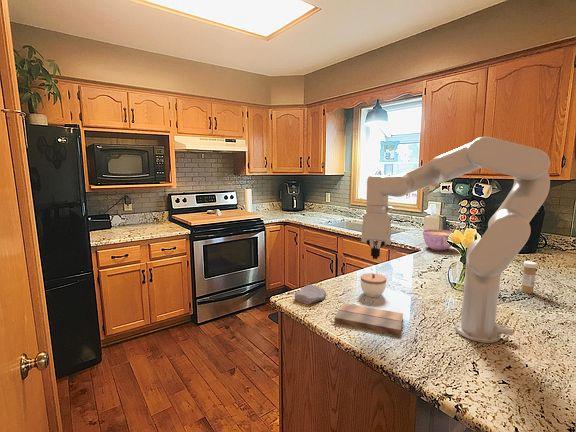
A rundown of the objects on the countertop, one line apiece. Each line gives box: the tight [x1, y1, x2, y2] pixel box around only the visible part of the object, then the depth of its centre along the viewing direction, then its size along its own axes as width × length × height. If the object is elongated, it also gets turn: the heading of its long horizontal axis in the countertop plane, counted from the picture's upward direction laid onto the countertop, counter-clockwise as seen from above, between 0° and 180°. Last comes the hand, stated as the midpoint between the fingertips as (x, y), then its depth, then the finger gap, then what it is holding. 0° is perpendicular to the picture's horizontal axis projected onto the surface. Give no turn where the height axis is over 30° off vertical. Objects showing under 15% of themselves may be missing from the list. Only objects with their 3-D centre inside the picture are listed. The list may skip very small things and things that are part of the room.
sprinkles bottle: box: [520, 260, 538, 295], centre depth 135 cm, size 5×5×14 cm
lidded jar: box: [360, 272, 387, 298], centre depth 132 cm, size 11×11×9 cm
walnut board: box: [333, 309, 403, 336], centre depth 107 cm, size 22×6×2 cm, turn 67°
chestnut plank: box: [338, 302, 404, 323], centre depth 113 cm, size 22×6×2 cm, turn 67°
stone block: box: [294, 284, 327, 305], centre depth 129 cm, size 12×5×10 cm
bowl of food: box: [422, 228, 453, 252], centre depth 207 cm, size 20×20×12 cm
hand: (375, 258), depth 115 cm, fingers closed
